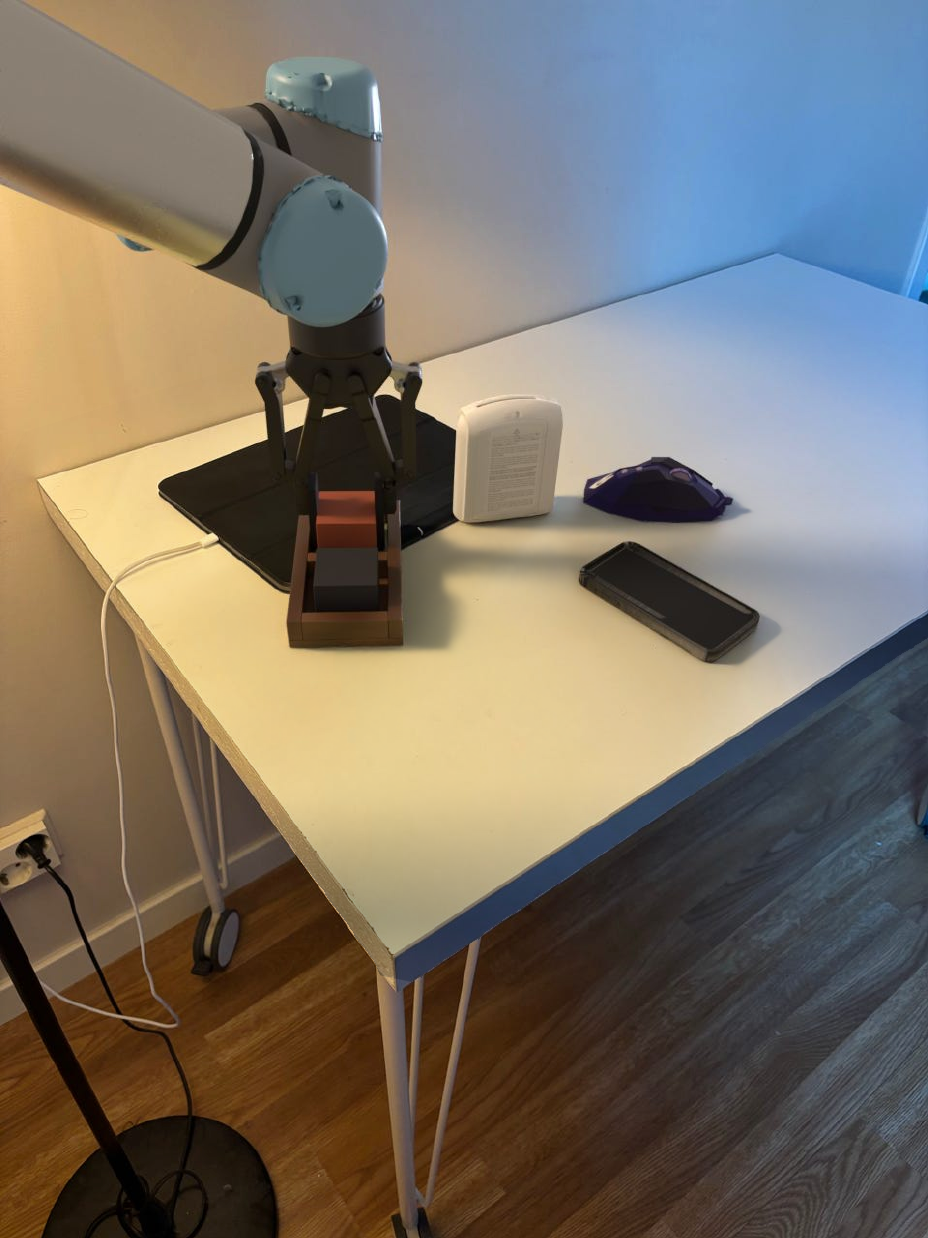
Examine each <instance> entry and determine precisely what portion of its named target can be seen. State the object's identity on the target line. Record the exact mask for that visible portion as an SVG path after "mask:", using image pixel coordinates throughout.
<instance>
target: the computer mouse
mask: <svg viewBox="0 0 928 1238" xmlns="http://www.w3.org/2000/svg"><path fill="white" fill-rule="evenodd" d="M713 485H714V483H713V482H711V481H710V480H708V478H706V477H704V476H703V475H702V474H700V473H699V472H698V471H696V470H695V469H694V468H693V469H692V467H689V466H687V465H685V464H683V463H681V462H680V461H678V460H676V459H674V458H673V457H670V456H651V458H650V459H648V460H646V461H643V462H641V463H639V464H636V465H633V466H627V467H621V468H618V469H616V470H614V471H611V472H607V473H604V474H601V475H597V476H594V477H590V478H587V479H586V483H585V485H584V489H583V497H582V503H584V504H586V505H589V506H590V507H592V508H595V509H598V510H600V511H602V512H605V513H607V514H611V515H615V516H619V517H623V518H628V519H632V520H635V521H640V522H650V523H651V522H653V523H654V522H655V523H674V524H675V523H694V522H710V521H711V522H712V521H713V520H716V519H717V518H719V517H723V515H724V513H725V511H726V507H727V506H733V505H732V504H733V501H734V498H733V497H731V496H725V494H724V493H723V492H722V490H720V489H719V488H714V487H713Z"/></svg>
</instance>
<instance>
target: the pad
mask: <svg viewBox="0 0 928 1238" xmlns="http://www.w3.org/2000/svg"><path fill="white" fill-rule="evenodd" d="M318 492H319V504H318V515H317V520H316V528H317V541H318V548H377V535H376V515H375V490H359V491H358V490H345V491H343V490H339V491H338V490H335V491H334V490H333V491H332V490H331V491H330V490H329V491H327V490H326V491H325V490H324V491H323V490H322V491H318Z"/></svg>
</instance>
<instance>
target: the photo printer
mask: <svg viewBox="0 0 928 1238" xmlns="http://www.w3.org/2000/svg"><path fill="white" fill-rule="evenodd" d="M563 421H564V419H563V411H562V406H561V404H560V403H558V401H557V399H555V398H552V397H549V396H545V395H539V394H530V393H529V394H528V393H527V394H526V393H524V394H523V393H517V394H515V393H513V394H504V395H497V396H492V397H488V398H484V399H481V400H477V401H474V402H472V403H469V404H468V405H465V406H463V407H461V408H460V409H459V412H458V414H457V424H456V432H455V455H454V456H455V457H454V477H453V478H454V479H453V498H452V499H453V500H452V502H453V503H452V513H453V515H454V517H455V518H456V519H457V520H459V522H462V523H482V522H492V521H500V520H501V521H502V520H507V519H517V518H525V517H533V516H538V515H540V516H541V515H545V514H550V513H551V512H552V511H553V507H554V501H555V492H556V484H557V475H558V468H559V458H560V451H561V444H562V434H563V427H564V426H563V425H564V423H563Z"/></svg>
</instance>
